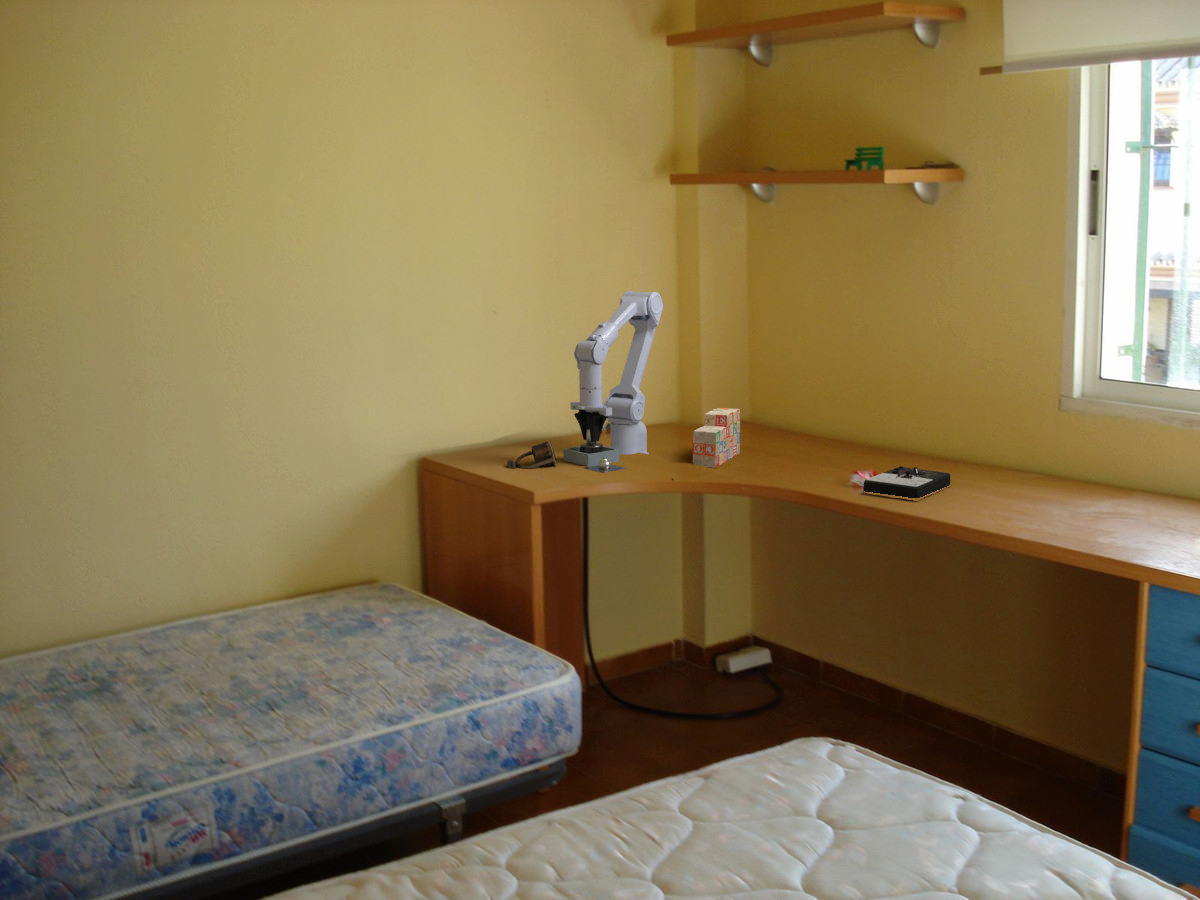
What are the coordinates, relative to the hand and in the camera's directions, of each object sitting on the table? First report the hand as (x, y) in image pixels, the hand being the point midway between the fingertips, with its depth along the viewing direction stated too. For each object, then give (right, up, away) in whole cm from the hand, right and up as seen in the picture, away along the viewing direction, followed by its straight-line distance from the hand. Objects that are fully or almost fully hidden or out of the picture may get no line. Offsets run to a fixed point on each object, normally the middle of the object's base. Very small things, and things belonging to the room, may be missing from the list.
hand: (591, 440), depth 315 cm
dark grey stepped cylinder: (0, -5, +1) cm, 5 cm away
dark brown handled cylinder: (-15, -8, -4) cm, 17 cm away
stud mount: (+3, -8, -8) cm, 12 cm away
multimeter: (+73, -12, -31) cm, 80 cm away
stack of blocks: (+33, -5, +6) cm, 34 cm away
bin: (0, -6, +1) cm, 6 cm away
